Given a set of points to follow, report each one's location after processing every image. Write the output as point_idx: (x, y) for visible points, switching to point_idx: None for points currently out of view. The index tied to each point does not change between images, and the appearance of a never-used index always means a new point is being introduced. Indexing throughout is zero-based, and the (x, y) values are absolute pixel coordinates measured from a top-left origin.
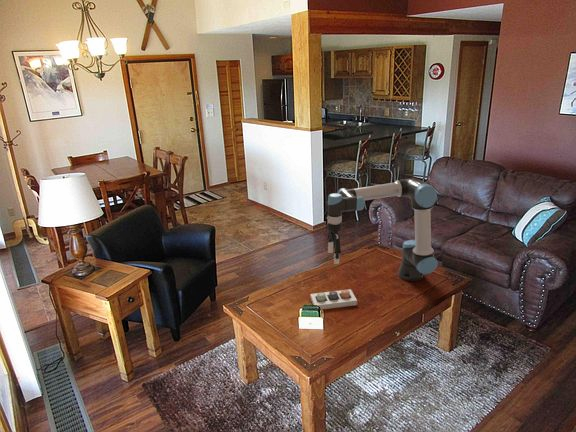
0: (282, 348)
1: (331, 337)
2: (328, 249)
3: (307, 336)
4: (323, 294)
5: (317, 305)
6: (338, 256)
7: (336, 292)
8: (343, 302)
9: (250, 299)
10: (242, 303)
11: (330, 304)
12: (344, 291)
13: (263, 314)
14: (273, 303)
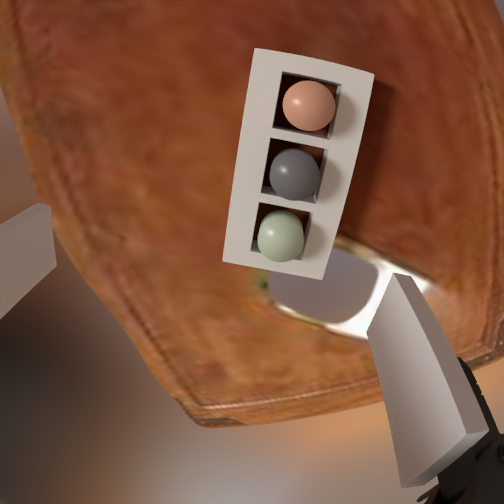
0: None
1: (473, 276)
2: (25, 292)
3: None
4: (281, 229)
5: (325, 268)
6: (478, 398)
7: (292, 155)
8: (358, 145)
9: (174, 393)
10: (189, 409)
11: (341, 209)
12: (301, 107)
13: (262, 394)
14: (213, 361)
